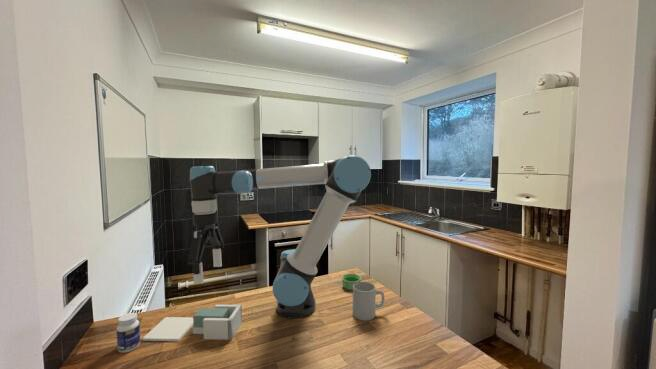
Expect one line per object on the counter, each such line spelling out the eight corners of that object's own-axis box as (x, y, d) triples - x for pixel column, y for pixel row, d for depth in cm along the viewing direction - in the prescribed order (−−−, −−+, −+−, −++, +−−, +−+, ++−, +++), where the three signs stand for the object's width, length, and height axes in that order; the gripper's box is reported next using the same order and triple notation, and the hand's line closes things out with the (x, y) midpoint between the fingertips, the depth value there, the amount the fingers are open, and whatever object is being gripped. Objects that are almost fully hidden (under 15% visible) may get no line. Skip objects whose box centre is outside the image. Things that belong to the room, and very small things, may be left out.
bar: (229, 319, 94) (228, 308, 94) (223, 327, 89) (222, 316, 89) (201, 318, 94) (200, 307, 94) (193, 327, 90) (193, 315, 89)
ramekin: (340, 290, 121) (340, 280, 121) (342, 281, 130) (343, 272, 130) (360, 291, 120) (360, 282, 119) (361, 283, 128) (361, 274, 128)
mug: (354, 321, 97) (354, 292, 96) (351, 308, 106) (351, 281, 105) (387, 320, 98) (387, 291, 97) (381, 307, 106) (381, 280, 105)
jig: (241, 322, 97) (241, 304, 96) (231, 339, 87) (231, 320, 87) (203, 321, 97) (202, 304, 96) (188, 338, 87) (187, 319, 87)
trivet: (198, 319, 98) (197, 317, 98) (179, 341, 86) (178, 338, 86) (165, 319, 99) (165, 317, 98) (142, 340, 87) (142, 338, 87)
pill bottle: (128, 354, 80) (126, 323, 80) (112, 352, 81) (110, 320, 81) (145, 342, 86) (143, 312, 85) (130, 340, 87) (128, 310, 86)
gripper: (211, 206, 102) (214, 260, 103) (170, 220, 77) (176, 291, 79) (230, 206, 102) (233, 260, 103) (196, 220, 77) (201, 291, 78)
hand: (209, 274), depth 91 cm, fingers open, 13 cm apart
